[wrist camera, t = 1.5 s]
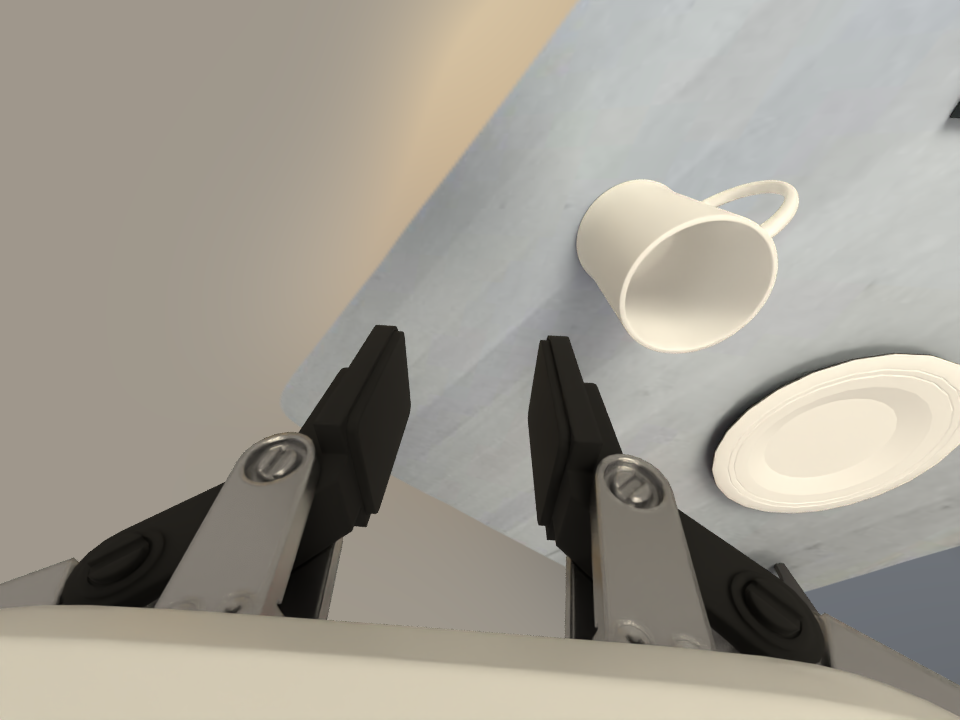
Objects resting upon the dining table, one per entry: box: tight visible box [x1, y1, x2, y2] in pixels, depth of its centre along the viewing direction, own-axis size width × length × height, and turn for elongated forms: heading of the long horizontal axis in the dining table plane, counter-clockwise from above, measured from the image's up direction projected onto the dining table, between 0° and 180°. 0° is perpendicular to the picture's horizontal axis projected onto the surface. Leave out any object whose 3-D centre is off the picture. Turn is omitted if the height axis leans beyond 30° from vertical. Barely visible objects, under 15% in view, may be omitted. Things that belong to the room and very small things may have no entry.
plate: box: [712, 353, 960, 513], centre depth 39 cm, size 25×25×2 cm
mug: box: [577, 180, 799, 353], centre depth 23 cm, size 12×8×12 cm
